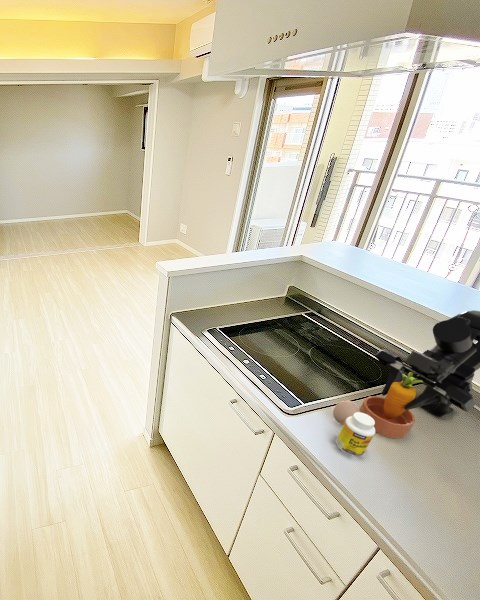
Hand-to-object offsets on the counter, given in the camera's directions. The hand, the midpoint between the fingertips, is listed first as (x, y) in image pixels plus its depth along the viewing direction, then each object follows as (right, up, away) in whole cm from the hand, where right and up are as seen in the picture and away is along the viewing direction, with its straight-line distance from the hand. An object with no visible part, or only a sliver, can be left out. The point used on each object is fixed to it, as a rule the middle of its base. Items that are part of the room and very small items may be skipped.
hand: (393, 401), depth 82 cm
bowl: (+1, -7, +5) cm, 9 cm away
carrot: (+2, -6, +3) cm, 7 cm away
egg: (-9, -8, +6) cm, 13 cm away
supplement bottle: (-12, -11, -1) cm, 17 cm away
